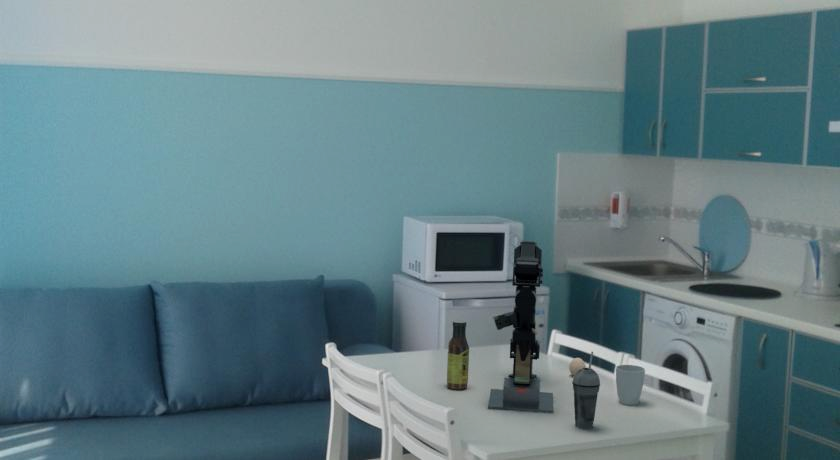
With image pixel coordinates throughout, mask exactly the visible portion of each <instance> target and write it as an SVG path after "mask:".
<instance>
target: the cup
mask: <svg viewBox="0 0 840 460" xmlns="http://www.w3.org/2000/svg"><path fill="white" fill-rule="evenodd" d="M645 372H646V369H645V368H644V367H642V366H639V365H635V364H634V365H633V364H621V365H619V364H618V365H616V366H615V385H616V392H617V397H618V402H619V403H620V404H622V405H625V406H635V405H637V404H638V403H639V400H640V399H641V394H642V391H643V387H644V382H645V374H646V373H645Z"/></svg>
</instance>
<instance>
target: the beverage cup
mask: <svg viewBox="0 0 840 460" xmlns="http://www.w3.org/2000/svg"><path fill="white" fill-rule="evenodd" d="M593 356H594V351H591V352H590V357H589V364H588V367H586V368H582V369H580V370H578V371H577V372H576V374H575V375H573V378H572V390H573V403H574V405H573V406H574V408H573V410H574V423H575V427H576V428H577V427H578V429H580V428H582V429H581V430H591V429H592V428H594V422H595V416H596V407H597V400H598V395H599V392H600V387H601V381H600V377H599V374H598V372H596V371H595V369H593V368H591V367H592V362H593Z"/></svg>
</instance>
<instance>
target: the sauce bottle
mask: <svg viewBox="0 0 840 460" xmlns="http://www.w3.org/2000/svg"><path fill="white" fill-rule="evenodd" d="M466 330H467V321H465V320H458V319H457V320H453V321H452V337H451V339H450V340H449V341H448V346H447V347H448V348H447V350H448V352H447V365H446V366H447V367H446V387H447V388H448V389H450V390H456V391H457V390H465V389H467V388H468V383H469V382H468V381H469V363H470V362H469V361H470V347H469V346H470V345H469V344H468V341H467V340H468V339H467V337H466V334H467V333H466Z"/></svg>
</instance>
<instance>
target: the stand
mask: <svg viewBox="0 0 840 460" xmlns="http://www.w3.org/2000/svg"><path fill="white" fill-rule="evenodd" d="M540 382H541V380H540V379H537V378H536V379H534V378H531V379H529V384H521V383H515V378H512V377H504V381H503V388H502V389H500V388H490V391H489V392H490V393H489V397H488V402H487V410H494V411H508V412H509V411H511V412H529V413H541V414H543V413H544V414H554V413H555V411H554V410H555V408H554V407H555V405H554V393H553V392H549V391H548V392H545V391H540V390H541V383H540Z"/></svg>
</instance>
